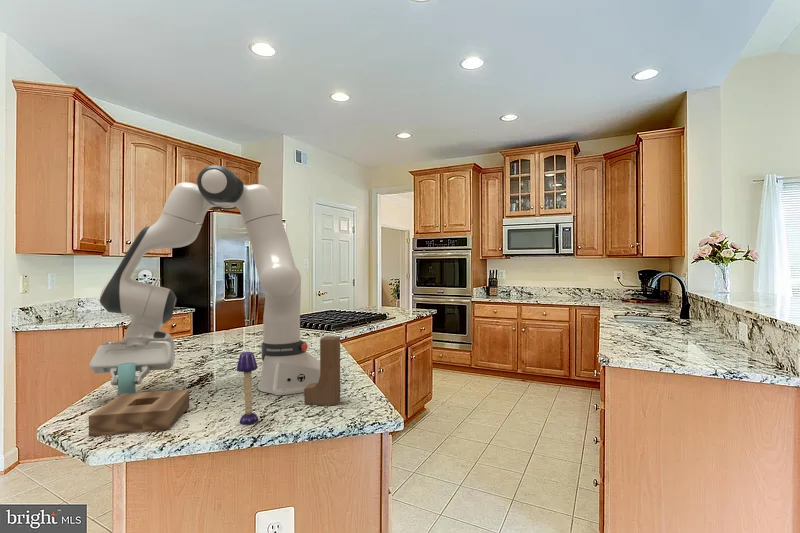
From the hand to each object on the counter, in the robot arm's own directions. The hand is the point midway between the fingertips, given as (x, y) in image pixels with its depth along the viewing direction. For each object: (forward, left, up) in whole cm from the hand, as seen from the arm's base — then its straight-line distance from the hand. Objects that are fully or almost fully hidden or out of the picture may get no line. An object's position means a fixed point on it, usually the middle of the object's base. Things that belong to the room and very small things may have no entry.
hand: (125, 383), depth 108 cm
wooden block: (-52, +9, -6) cm, 53 cm away
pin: (0, -1, -6) cm, 6 cm away
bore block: (-9, +12, -6) cm, 16 cm away
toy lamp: (-34, +19, -6) cm, 40 cm away
